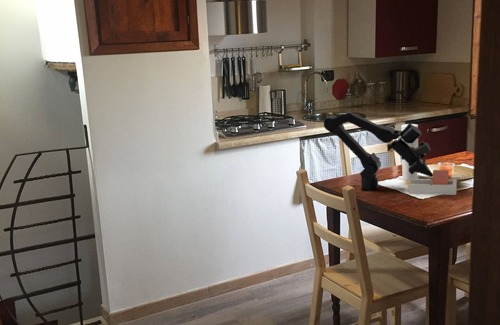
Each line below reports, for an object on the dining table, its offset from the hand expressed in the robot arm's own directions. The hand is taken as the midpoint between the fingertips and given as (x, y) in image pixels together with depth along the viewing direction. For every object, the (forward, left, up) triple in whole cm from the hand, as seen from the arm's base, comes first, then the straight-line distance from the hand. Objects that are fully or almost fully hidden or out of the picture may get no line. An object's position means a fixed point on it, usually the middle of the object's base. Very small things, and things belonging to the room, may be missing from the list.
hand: (432, 175), depth 220 cm
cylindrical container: (-11, +19, -7) cm, 23 cm away
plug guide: (0, 0, -7) cm, 7 cm away
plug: (+3, 0, -7) cm, 7 cm away
